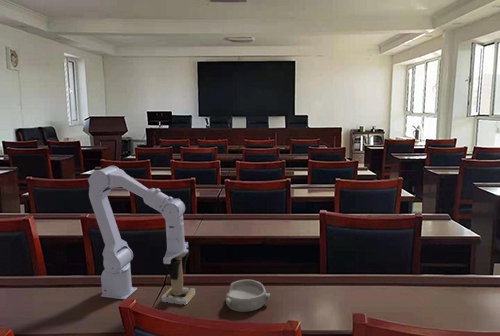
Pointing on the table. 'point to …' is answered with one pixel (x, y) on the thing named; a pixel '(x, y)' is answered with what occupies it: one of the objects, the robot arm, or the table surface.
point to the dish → (246, 295)
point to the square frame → (179, 300)
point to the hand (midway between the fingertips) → (177, 275)
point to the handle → (178, 283)
